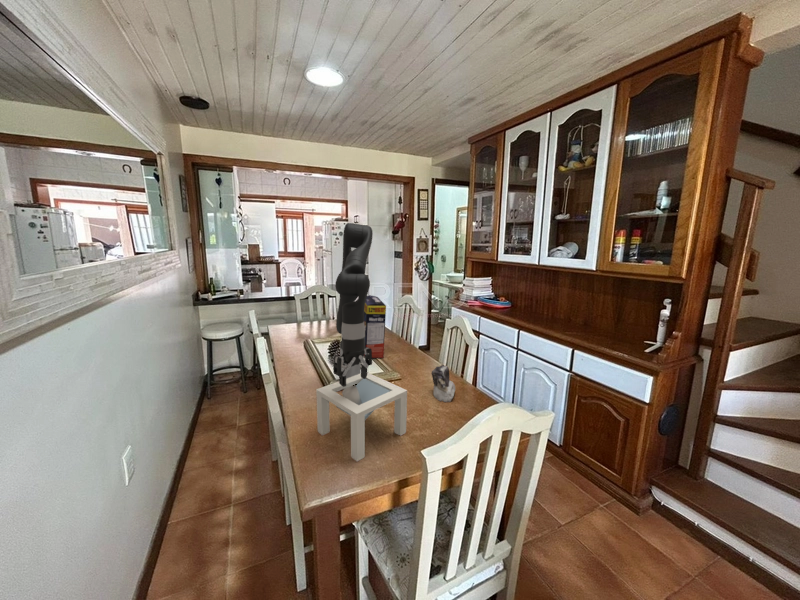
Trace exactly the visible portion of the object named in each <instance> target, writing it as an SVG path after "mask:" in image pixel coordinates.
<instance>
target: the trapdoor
mask: <svg viewBox="0 0 800 600" xmlns="http://www.w3.org/2000/svg"><path fill="white" fill-rule="evenodd" d="M355 386H356V387H357V389H358V392H359V395H360V398H361V401H362V404H363V403H365V402H367V401H369V400H372V399H374V398H376V397H378V396H381V395H383V394H385V393H387V392H390V391H389V390H387V389H385V388H383V387H381V386H379V385H376V384H374V383H372V382H370V381H368V380H366V379H362V380H361V381H360V382H359V383H358V384H357V385H355ZM335 406H336V405H335ZM336 408H337V409H338V410H340V411H341V412H343V413H345V414H347V415H349V416H350V417H351V415H350V414H349V413H347V412H346V411H344V410H342V409H341V408H339V407H337V406H336ZM373 413H374V411H372V412H369V413H367V414H365V421H366V420H367V419H368V418H369V417H370V416H371V415H372V414H373Z"/></svg>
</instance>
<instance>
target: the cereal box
mask: <svg viewBox="0 0 800 600" xmlns="http://www.w3.org/2000/svg"><path fill="white" fill-rule="evenodd" d="M386 311H387V305H386V304H385V303H384V302H383V301H382V300H381V299H380V298H379V297H378V296H376V295H370V294H369V295H367V297H366V301H365V307H364V325H365V347H368V348H370V349H372V360H377V359H376V358H378V359H384V356H385V355H384V354H385V337H386V336H385V335H386V331H385V330H386V316H387V315H386V314H387V313H386ZM363 358H365V354H364V356H363Z"/></svg>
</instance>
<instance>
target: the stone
mask: <svg viewBox="0 0 800 600" xmlns="http://www.w3.org/2000/svg"><path fill="white" fill-rule="evenodd" d="M431 378H432V383H433V397H434V398H435V399H436V400H438V401H439V402H442V401H443V402H444V403H451V402H452V400H453V398H454V395H455V391H456V385H455V383H454V382H453V381H451V380H450V369H449V367H448V366H447V365H444V364H442V365H439V366H435V368H434V369H432V370H431Z"/></svg>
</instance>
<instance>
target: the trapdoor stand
mask: <svg viewBox="0 0 800 600" xmlns="http://www.w3.org/2000/svg"><path fill="white" fill-rule="evenodd" d="M362 379H363V378H361V372H360V374H358V375H355V376H352V377H349V378H347V379H346V386H345V387H343V386H341V385H340V383H339V380H338V381H336V382H333V383H331V384H328V385H325V386H322V387H319V388H316V389H315V391H316V394H315V395H316V416H317V417H316V420H317V421H316V422H317V425H316V426H317V432H318V434H320V435H321V436H324V435H327V434H328V433H330V431H331V429H330V427H331V426H330V424H331V423H330V403H331V404H332V405H334V406H337V407H339V408H341V409H342V410H344V411H346V412H347V413H349V414H350V415H351V416H350V415H349V416H350V457H351V458H352V459H353V460H354V461H355V462H359V461H361V460H363V459H364V458H365V457H366V452H365V451H366V450H365V446H366V445H365V444H366V443H365V440H366V439H365V437H366V433H365V432H366V431H365V430H366V427H365V426H366V423H365V421H366V420H365V414H367V413H369V412H372V411H373V412H375V411H376V410H377V409H380V408H382V407H384V406H385V405H389V404H390V403H392V402H394V410H393V411H394V413H393V416H394V422H393V432H394V434H396V435H398V436H399V435H400V437H401V436H403V435H405V434H406V433H407V416H408V415H407V410H408V409H407V408H408V390H407V389H405V388H403V387H401V386H398V385H397V384H394V383H392V382H390V381H387V380H385V379H383V378H381V377H379V376H376V375H374V374H372V373H369V372H368V371H367V376H366V380H368V381H370V382H372V383H374V384H376V385H379V386H381V387H383V388H385V389H387V390H389V391H390V392H387V393H385V394H383V395H381V396H378V397H376V398H374V399H372V400H369V401H367V402H365V403H363V404H360V405H357V404H356V403H354V402H352V401H350V400H349V399H347V398H345V397H343V395H342V394H340V393H338V392H339V391H343V390H344V389H345V388H347V387H349V386H353V385H354V386H356V385H355V384H358V383H359V382H360V381H361V380H362ZM337 407H336V408H337ZM339 408H338V409H339ZM342 410H341V411H342ZM344 411H343V412H344ZM373 412H372V413H373ZM347 413H346V414H347Z"/></svg>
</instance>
